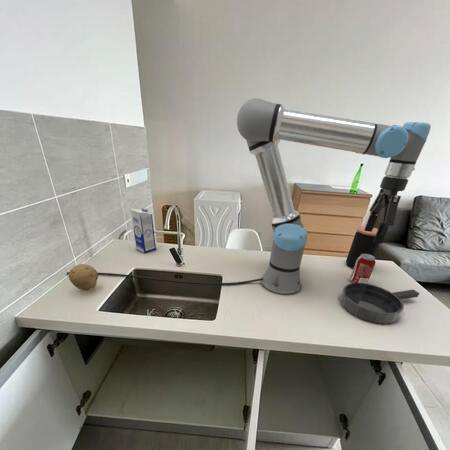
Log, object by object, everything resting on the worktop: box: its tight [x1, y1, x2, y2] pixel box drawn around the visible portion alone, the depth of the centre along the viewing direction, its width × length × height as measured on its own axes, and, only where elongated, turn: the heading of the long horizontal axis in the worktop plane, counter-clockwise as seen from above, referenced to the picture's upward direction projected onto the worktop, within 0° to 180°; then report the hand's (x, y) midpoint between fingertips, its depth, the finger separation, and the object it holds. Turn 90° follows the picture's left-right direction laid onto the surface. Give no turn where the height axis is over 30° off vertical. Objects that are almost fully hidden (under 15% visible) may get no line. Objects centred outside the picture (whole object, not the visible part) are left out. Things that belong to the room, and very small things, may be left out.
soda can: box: [349, 254, 377, 284], centre depth 100 cm, size 7×7×12 cm
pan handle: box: [387, 289, 420, 301], centre depth 90 cm, size 12×3×2 cm, turn 106°
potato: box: [68, 263, 99, 292], centre depth 86 cm, size 9×9×10 cm
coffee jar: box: [345, 225, 380, 270], centre depth 112 cm, size 11×11×18 cm
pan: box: [339, 282, 405, 325], centre depth 87 cm, size 19×19×4 cm
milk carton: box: [130, 208, 157, 254], centre depth 116 cm, size 7×7×20 cm
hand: (372, 236), depth 93 cm, fingers open, 13 cm apart
